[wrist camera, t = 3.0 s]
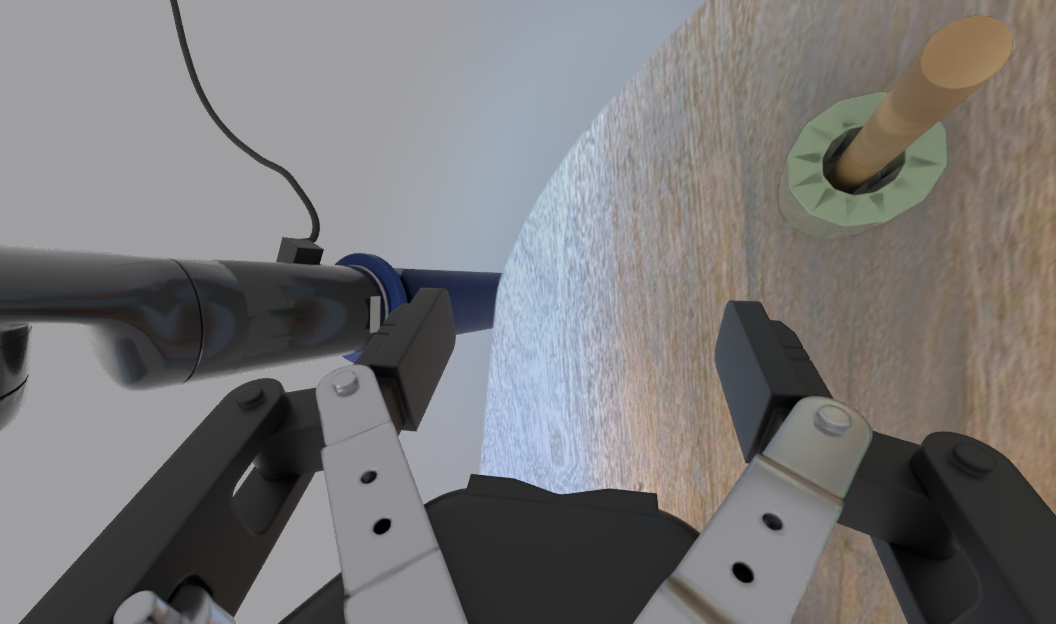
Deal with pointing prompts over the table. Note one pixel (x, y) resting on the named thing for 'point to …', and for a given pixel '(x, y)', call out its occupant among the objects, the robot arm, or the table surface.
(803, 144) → the crock
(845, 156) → the stick
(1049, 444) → the table surface
